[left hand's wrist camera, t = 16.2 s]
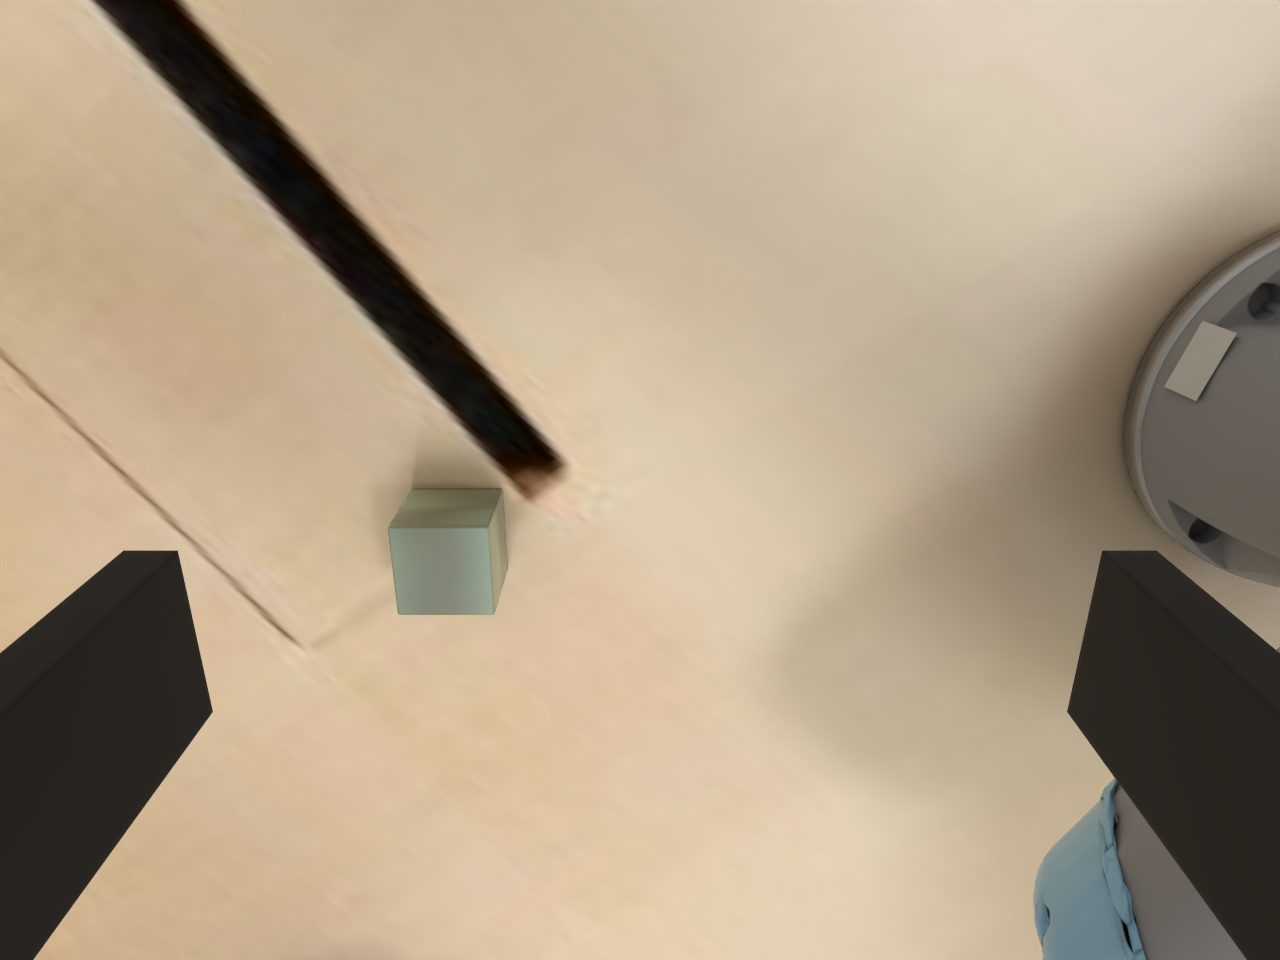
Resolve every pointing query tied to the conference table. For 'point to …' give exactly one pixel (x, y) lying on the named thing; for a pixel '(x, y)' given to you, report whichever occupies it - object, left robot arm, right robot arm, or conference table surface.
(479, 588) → the sage block
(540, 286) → the conference table surface
